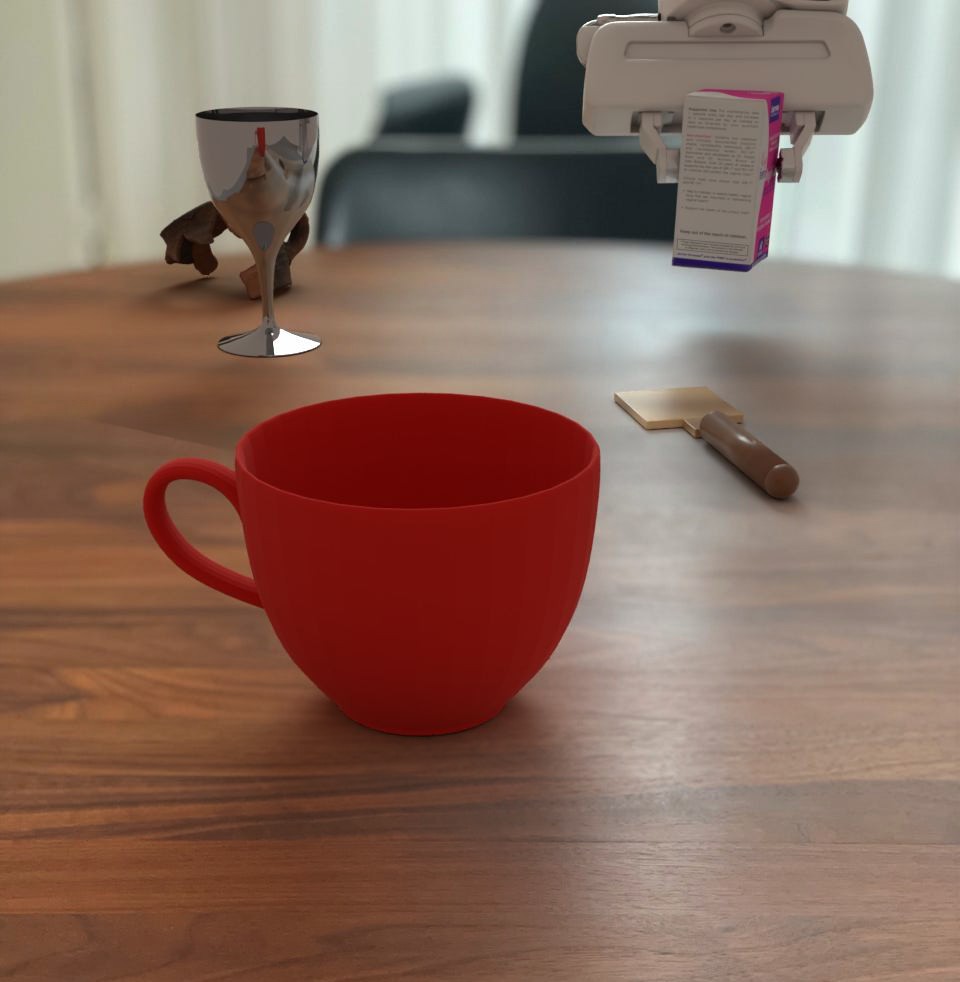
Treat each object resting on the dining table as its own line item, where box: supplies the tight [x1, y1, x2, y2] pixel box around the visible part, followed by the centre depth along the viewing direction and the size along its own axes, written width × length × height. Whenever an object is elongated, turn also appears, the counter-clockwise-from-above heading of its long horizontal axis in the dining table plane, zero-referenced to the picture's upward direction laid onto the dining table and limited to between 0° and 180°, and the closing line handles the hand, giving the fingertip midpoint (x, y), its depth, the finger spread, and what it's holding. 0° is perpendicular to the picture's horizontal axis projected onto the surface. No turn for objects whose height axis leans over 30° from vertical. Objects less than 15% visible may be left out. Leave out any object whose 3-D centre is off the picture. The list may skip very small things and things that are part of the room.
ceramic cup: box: [142, 392, 602, 737], centre depth 55 cm, size 13×17×10 cm
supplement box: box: [670, 89, 784, 273], centre depth 104 cm, size 6×6×12 cm
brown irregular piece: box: [159, 200, 311, 300], centre depth 118 cm, size 12×10×8 cm
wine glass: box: [194, 106, 322, 357], centre depth 100 cm, size 8×8×15 cm
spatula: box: [613, 385, 800, 499], centre depth 84 cm, size 19×6×2 cm, turn 14°
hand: (730, 178), depth 103 cm, fingers closed on supplement box, 7 cm apart
